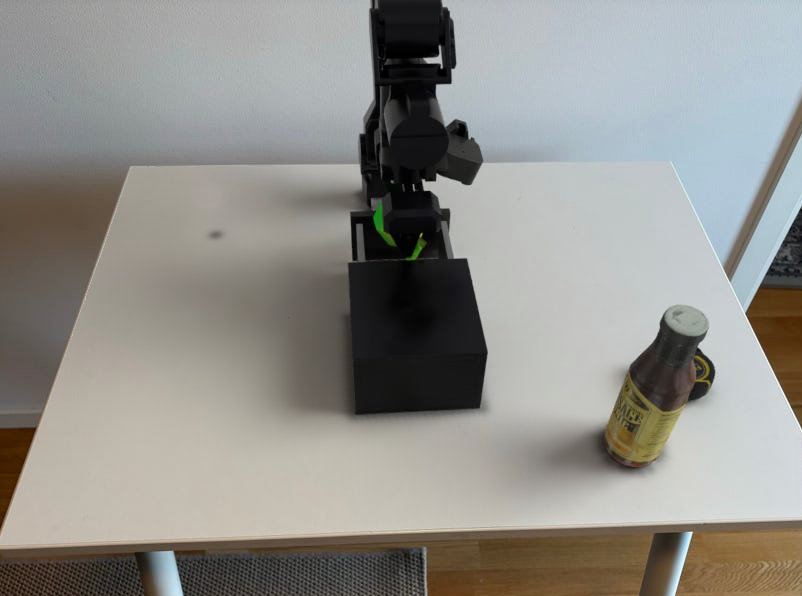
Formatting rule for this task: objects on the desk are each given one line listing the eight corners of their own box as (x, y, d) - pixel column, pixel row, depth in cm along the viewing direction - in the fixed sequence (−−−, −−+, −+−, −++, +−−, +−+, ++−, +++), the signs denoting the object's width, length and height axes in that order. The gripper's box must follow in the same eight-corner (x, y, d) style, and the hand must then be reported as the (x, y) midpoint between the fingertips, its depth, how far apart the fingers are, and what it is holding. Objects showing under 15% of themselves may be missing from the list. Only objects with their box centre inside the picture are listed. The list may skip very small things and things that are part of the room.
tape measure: (691, 361, 90) (701, 339, 87) (717, 403, 86) (728, 382, 83) (638, 367, 89) (646, 345, 86) (661, 411, 85) (670, 389, 82)
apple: (382, 176, 89) (426, 212, 84) (414, 193, 94) (458, 229, 89) (351, 225, 91) (392, 264, 86) (384, 240, 96) (424, 277, 91)
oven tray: (350, 234, 104) (348, 189, 99) (442, 231, 105) (445, 187, 100) (356, 330, 91) (354, 284, 86) (460, 325, 92) (465, 280, 87)
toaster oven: (350, 319, 94) (347, 262, 87) (461, 314, 95) (467, 257, 88) (355, 414, 83) (352, 358, 76) (480, 408, 84) (488, 352, 78)
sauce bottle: (595, 426, 83) (639, 291, 68) (650, 423, 83) (705, 289, 69) (610, 475, 78) (661, 342, 64) (668, 472, 79) (731, 339, 64)
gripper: (495, 163, 74) (480, 283, 86) (468, 76, 87) (459, 190, 98) (383, 166, 73) (384, 286, 85) (373, 78, 86) (375, 193, 97)
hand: (404, 235), depth 91 cm, fingers closed on apple, 8 cm apart
